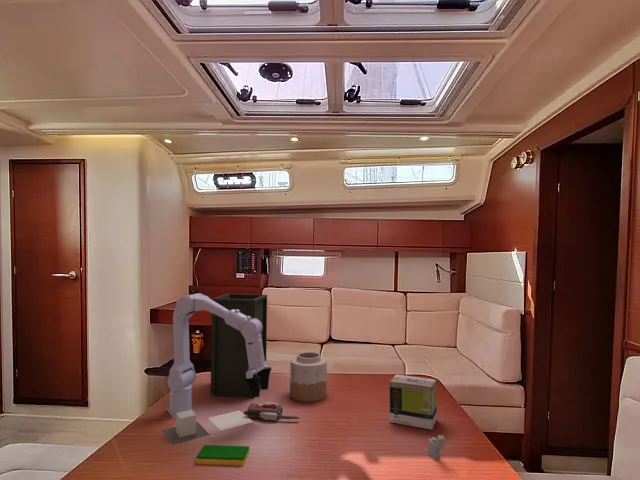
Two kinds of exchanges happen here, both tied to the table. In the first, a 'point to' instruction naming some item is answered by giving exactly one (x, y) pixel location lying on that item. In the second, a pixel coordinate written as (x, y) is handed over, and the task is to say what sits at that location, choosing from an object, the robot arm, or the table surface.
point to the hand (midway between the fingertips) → (260, 393)
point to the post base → (175, 438)
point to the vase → (308, 377)
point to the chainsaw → (267, 411)
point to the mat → (230, 420)
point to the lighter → (436, 446)
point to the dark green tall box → (234, 345)
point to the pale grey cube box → (185, 423)
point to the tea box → (413, 401)
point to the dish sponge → (223, 455)
